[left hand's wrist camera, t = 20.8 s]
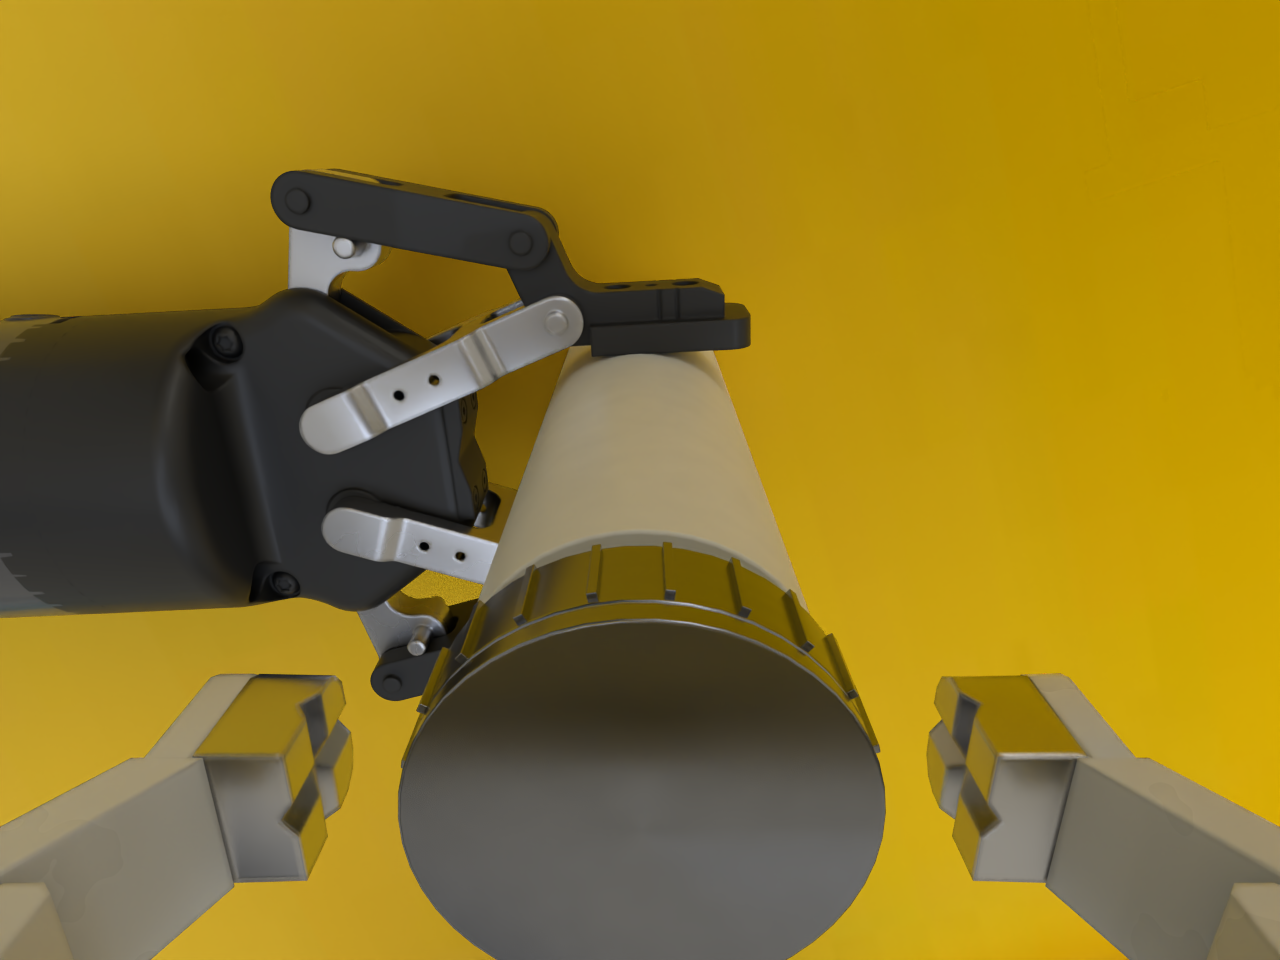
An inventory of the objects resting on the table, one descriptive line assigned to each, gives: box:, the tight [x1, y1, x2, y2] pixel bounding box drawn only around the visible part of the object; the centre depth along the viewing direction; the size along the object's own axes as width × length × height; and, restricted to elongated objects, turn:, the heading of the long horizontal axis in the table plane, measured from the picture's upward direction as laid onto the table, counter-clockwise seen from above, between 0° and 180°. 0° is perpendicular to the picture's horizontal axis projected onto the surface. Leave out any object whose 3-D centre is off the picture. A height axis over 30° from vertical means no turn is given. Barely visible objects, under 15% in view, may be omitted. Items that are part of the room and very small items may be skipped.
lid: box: [398, 542, 886, 960], centre depth 10 cm, size 5×5×2 cm
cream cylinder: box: [478, 345, 809, 613], centre depth 18 cm, size 5×5×18 cm
